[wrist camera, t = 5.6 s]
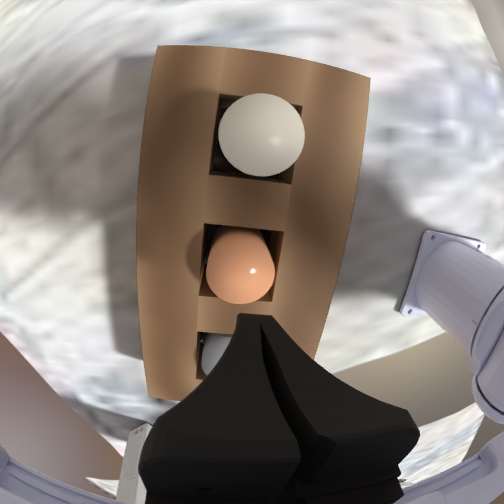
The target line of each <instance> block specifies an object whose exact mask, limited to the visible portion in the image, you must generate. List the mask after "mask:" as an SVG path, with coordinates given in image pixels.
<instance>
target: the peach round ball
mask: <svg viewBox="0 0 504 504" xmlns="http://www.w3.org/2000/svg"><path fill="white" fill-rule="evenodd" d="M274 276H275V268H274V264H273V261H272V258H271V256H270V253H269V250H268V248H267V245H266V243H265V240H264V238H263V235H262V234H261V232H260V231H259V230H258V229H257V228H247V227H238V226H228V225H223V226H222V227H220V228H219V229H218V230H217V232H216V233H215V234H214V236H213V239H212V243H211V248H210V253H209V258H208V263H207V268H206V278H207V282H208V285H209V287H210V288H211V290H212V291H213V292H214V294H215V295H217V296H218V297H219V298H221V299H222V300H224V301H226V302H229V303H233V304H246V303H251V302H254V301H256V300H258V299H259V298H261V297H262V296H264V295H265V294H266V293H267V292H268V290H269V289H270V287H271V286H272V283H273V281H274Z"/></svg>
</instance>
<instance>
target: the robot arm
mask: <svg viewBox="0 0 504 504" xmlns="http://www.w3.org/2000/svg"><path fill="white" fill-rule="evenodd" d="M432 236H433V238H432V239H431V237H432ZM485 249H486V244H485V243H484V242H480V241H476V240H472V239H468V238H463V237H459V236H454V235H450V234H445V233H440V232H435V231H430V230H427V231H425V232H424V234H423V238H422V242H421V246H420V249H419V253H418V256H417V260H416V263H415V267H414V270H413V273H412V276H411V280H410V283H409V286H408V289H407V292H406V295H405V297H404V300H403V303H402V306H401V309H400V313H401V314H402V315H403V316H424V315H429V316H430V317H431V318H432V319H433V320H434V321H435V322H436V323H437V324H438V325H439V326H440V327H442V328H443V329H444V330H445V331H446V332H447V333H448V334H449V335H450V336H451V337H452V338H453V339H454V340H455V341H456V342H457V343H458V345H460V346H461V348H462V349H463V350H464V351H465V352H466V353H467V354H468V355H469V356H470V357H471V361H470V363H469V365H468V368H470V370H471V371H472V372H473V373H474V374H475V376H474V377H473V380H472V392H473V395H474V398H475V401H476V403H477V405H478V406H479V408H480V409H481V411H482V412H483V413H484V414H485V415H486V416H488V417H489V418H490V419H492V420H493V421H495V422H498V423H501V424H504V264H502V263H501V262H499V261H497V260H495V259H493V258H492V257H490V256H488V255H486V254H484V253H485ZM409 309H410V310H409ZM408 310H409V311H408ZM419 437H420V431H419V429H418V427H417V426H416V424H415V422H414V421H413V419H412V417H411V415H410V414H409V412H408V411H407V410H405V409H402V408H399V407H396V406H393V405H391V404H387V403H385V402H382V401H379V400H377V399H375V398H373V397H370V396H368V395H366V394H364V393H362V392H360V391H358V390H356V389H354V388H353V387H351V386H349V385H348V384H346V383H344V382H343V381H341V380H339V379H338V378H336V377H335V376H333V375H332V374H331V373H329V372H328V371H327V370H325V369H324V368H323V367H321V366H320V365H319V364H318V363H316V362H315V361H314V360H313V359H312V358H311V357H310V356H309V355H307V354H306V353H305V352H304V351H303V350H302V349H301V348H300V347H299V346H298V345H297V344H296V343H295V342H294V340H293V339H292V338H291V337H290V336H289V335H288V334H287V333H286V331H285V330H284V329H283V328H282V327H281V326H280V324H279V323H278V322H277V321H276V319H275V318H274V317H273V316H272V315H261V314H248V313H240V314H238V315H237V320H236V328H235V331H234V333H233V335H232V338H231V340H230V342H229V344H228V346H227V348H226V349H225V351H224V353H223V355H222V356H221V358H220V359H219V361H218V362H217V364H216V365H215V366H214V368H213V369H212V370H211V372H210V373H209V374H208V375H207V376H206V378H205V379H204V380H203V381H202V382H201V383H200V384H199V385H198V386H197V387H196V388H195V389H194V390H193V391H192V392H191V393H190V394H189V395H188V396H186V397H185V398H184V399H183V400H182V401H181V402H179V403H178V404H177V405H175V406H174V407H173V408H171V409H170V410H168V411H167V412H165V413H164V414H163V415H161V416H160V417H158V418H157V420H156V421H155V423H154V425H153V426H152V428H151V430H150V432H149V434H148V436H147V438H146V440H145V442H144V445H143V447H142V450H141V454H140V459H139V464H138V473H139V475H140V478H141V480H142V482H143V484H144V486H145V488H146V491H147V492H146V499H145V504H489V503H490V502H491V501H493V500H494V499H495V498H496V497H497V496H499V495H500V494H501V493H502V492H503V491H504V432H502V433H501V434H499V435H498V436H496V437H494V438H493V439H492V440H490V441H489V442H488V443H487V444H486V445H485V446H484V447H483V448H482V449H481V450H480V451H479V453H478V454H476V455H475V456H473V457H471V458H469V459H467V460H465V461H463V462H462V463H460V464H458V465H456V466H454V467H452V468H450V469H448V470H446V471H444V472H441V473H439V474H437V475H435V476H433V477H430V478H428V479H426V480H423V481H421V482H418V483H416V484H413V485H411V486H408V487H405V488H403V489H402V488H401V485H400V483H399V481H398V479H397V477H399V476H400V475H401V471H400V469H399V467H398V464H399V463H400V462H401V461H402V460H403V459H404V458H405V457H406V456H407V455H408V454H409V453H410V452H411V450H412V449H413V448H414V447H415V445H416V444H417V442H418V439H419ZM0 504H129V503H125V502H121V501H117V500H113V499H109V498H106V497H103V496H99V495H96V494H93V493H90V492H87V491H84V490H82V489H79V488H76V487H73V486H71V485H68V484H65V483H63V482H61V481H58V480H56V479H54V478H51V477H49V476H47V475H45V474H43V473H40V472H38V471H36V470H34V469H32V468H30V467H28V466H26V465H25V464H22V463H21V462H19V461H17V460H15V459H13V458H11V457H10V456H9V454H8V453H7V451H6V450H5V449H4V448H3V447H2V446H1V445H0Z"/></svg>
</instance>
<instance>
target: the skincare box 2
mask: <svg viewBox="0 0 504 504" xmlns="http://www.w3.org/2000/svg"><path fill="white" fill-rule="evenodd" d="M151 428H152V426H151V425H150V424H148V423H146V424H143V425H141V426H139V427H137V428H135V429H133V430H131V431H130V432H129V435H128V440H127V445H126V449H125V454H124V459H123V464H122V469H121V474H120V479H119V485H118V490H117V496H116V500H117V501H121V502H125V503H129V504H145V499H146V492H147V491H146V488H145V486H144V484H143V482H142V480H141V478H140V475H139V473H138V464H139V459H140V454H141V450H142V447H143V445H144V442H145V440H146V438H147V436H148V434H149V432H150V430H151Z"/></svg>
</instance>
